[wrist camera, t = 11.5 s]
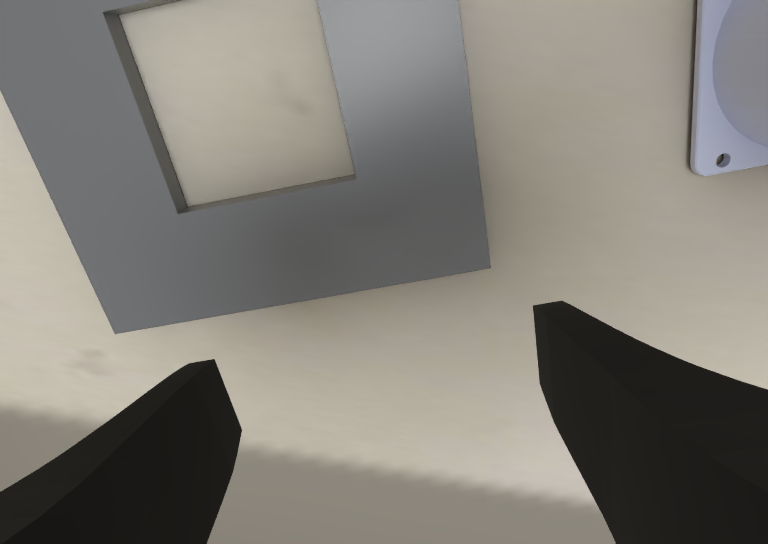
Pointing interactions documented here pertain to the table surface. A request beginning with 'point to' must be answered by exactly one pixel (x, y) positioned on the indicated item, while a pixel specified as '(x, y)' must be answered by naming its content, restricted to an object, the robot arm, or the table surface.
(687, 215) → the table surface
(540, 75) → the table surface
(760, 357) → the table surface
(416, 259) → the pocket board
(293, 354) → the table surface
